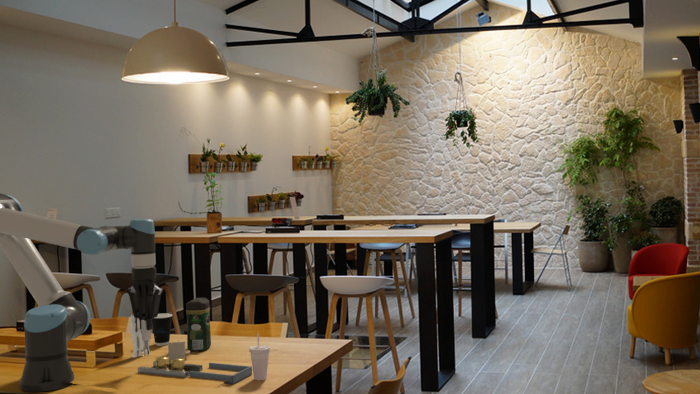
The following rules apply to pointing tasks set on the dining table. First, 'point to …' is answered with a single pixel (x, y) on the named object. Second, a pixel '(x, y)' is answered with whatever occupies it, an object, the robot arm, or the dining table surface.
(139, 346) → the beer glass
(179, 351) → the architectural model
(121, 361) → the dining table surface
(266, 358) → the smoothie
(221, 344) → the dining table surface
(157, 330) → the dixie cup
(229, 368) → the blue-grey rectangular frame
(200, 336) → the coffee jar
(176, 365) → the gold rounded cube
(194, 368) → the slot plate
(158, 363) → the gold rounded block
